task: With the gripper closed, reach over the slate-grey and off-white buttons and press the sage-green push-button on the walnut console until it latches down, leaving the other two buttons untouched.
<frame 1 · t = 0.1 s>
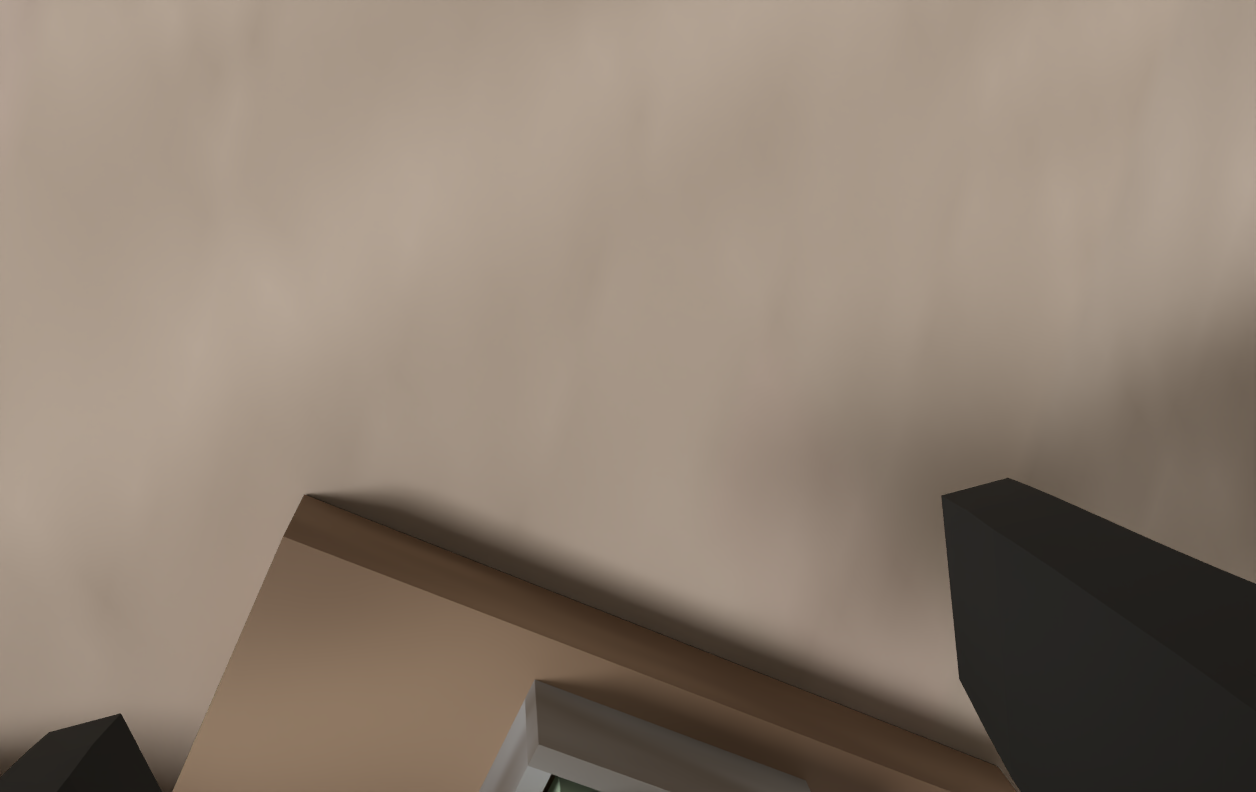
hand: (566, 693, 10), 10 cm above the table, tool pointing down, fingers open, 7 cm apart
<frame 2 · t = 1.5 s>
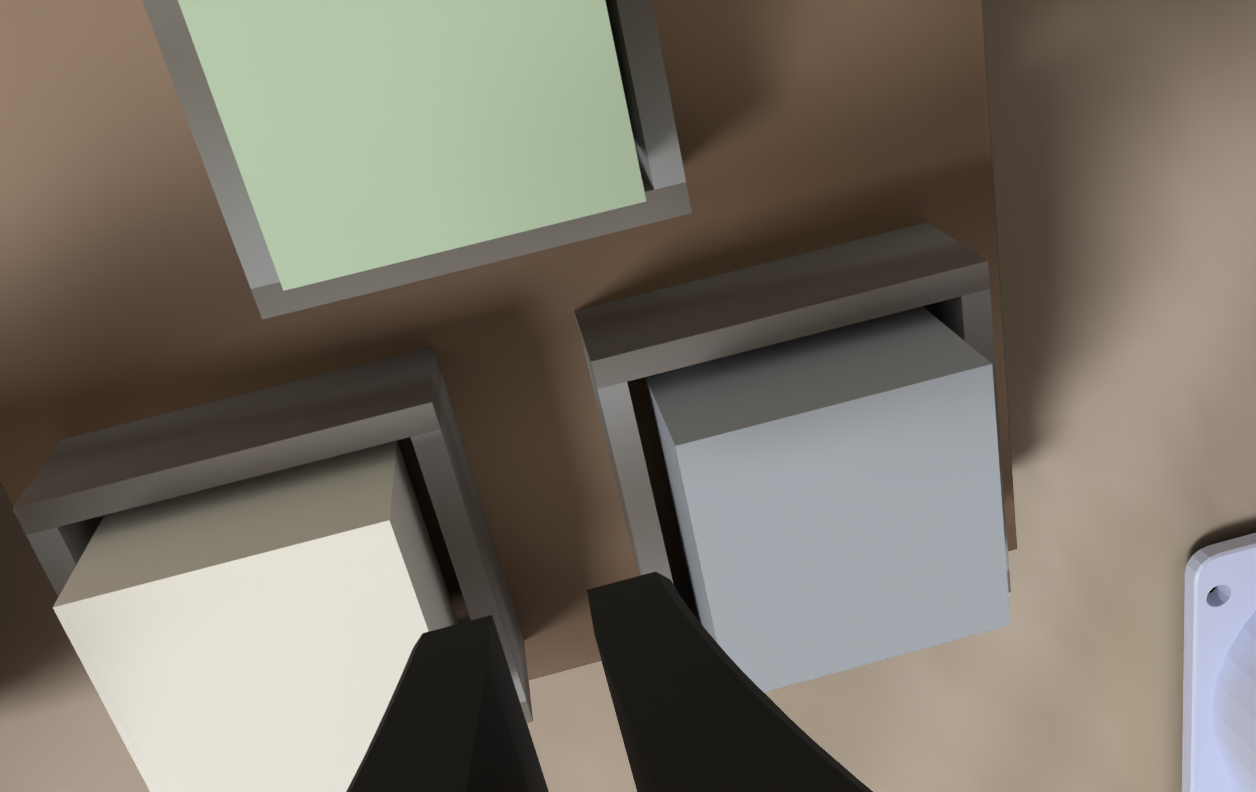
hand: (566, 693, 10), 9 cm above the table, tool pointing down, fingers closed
white button: (290, 641, 15), point 4 cm above the table, slide at 0.0 cm
console: (485, 239, 17), on the table
green button: (415, 45, 12), point 4 cm above the table, slide at 0.0 cm
grey button: (827, 500, 15), point 4 cm above the table, slide at 0.0 cm
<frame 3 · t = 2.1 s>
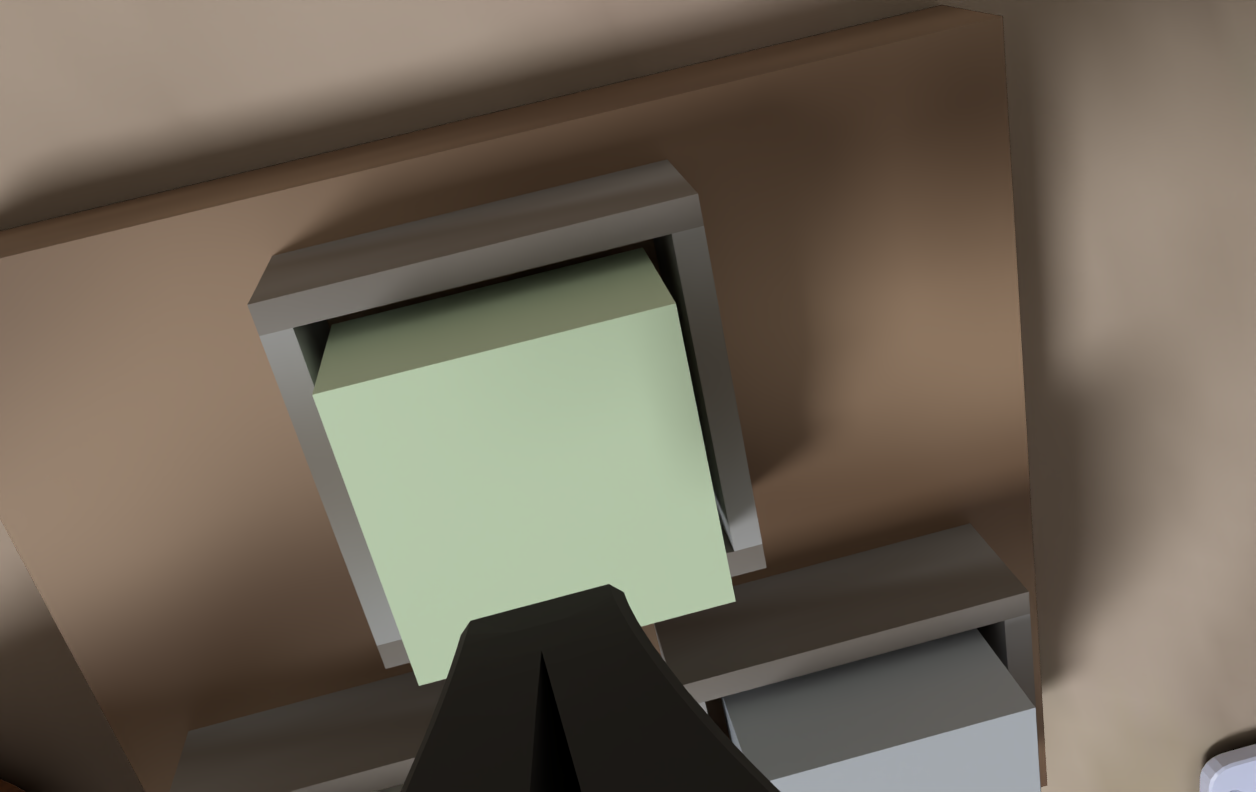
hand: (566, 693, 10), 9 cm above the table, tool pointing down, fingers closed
console: (563, 520, 19), on the table
green button: (532, 462, 14), point 4 cm above the table, slide at 0.0 cm
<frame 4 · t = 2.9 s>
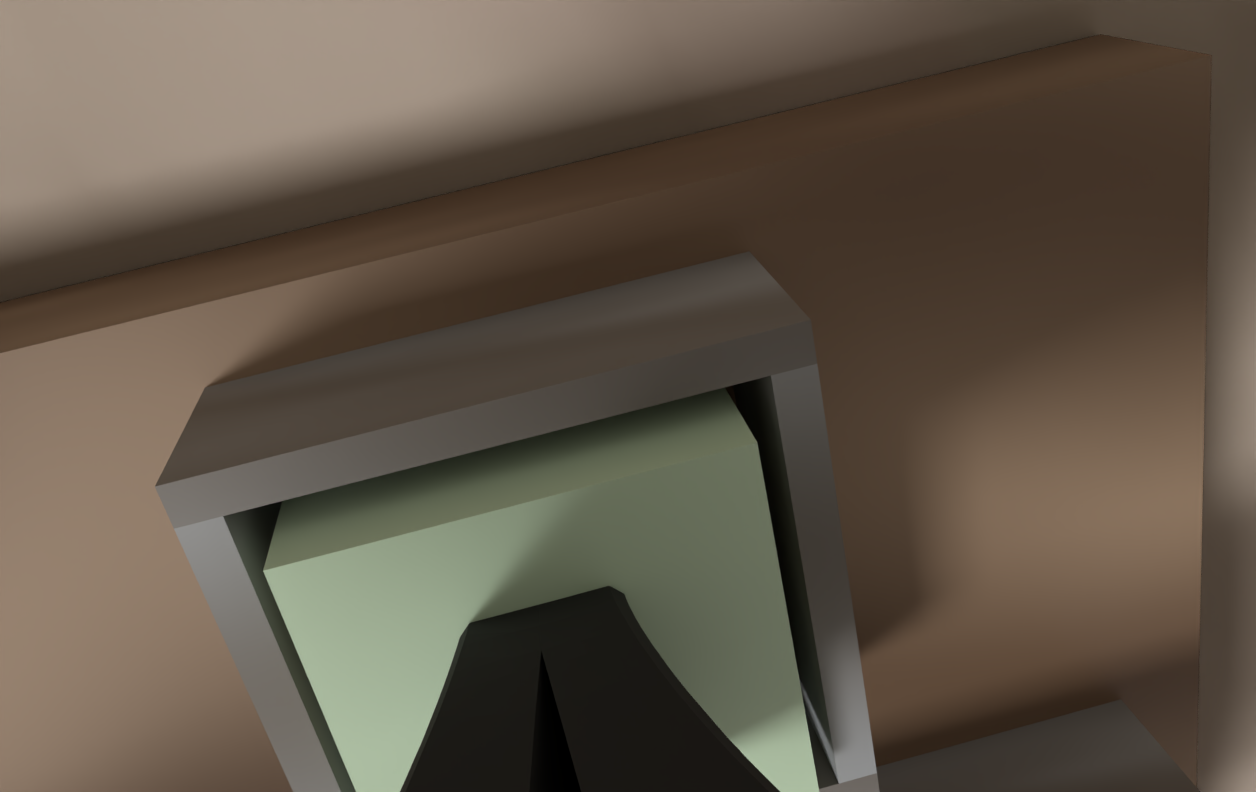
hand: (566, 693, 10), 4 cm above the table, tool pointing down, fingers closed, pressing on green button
console: (594, 683, 15), on the table
green button: (558, 625, 11), point 3 cm above the table, slide at 1.0 cm, touching gripper
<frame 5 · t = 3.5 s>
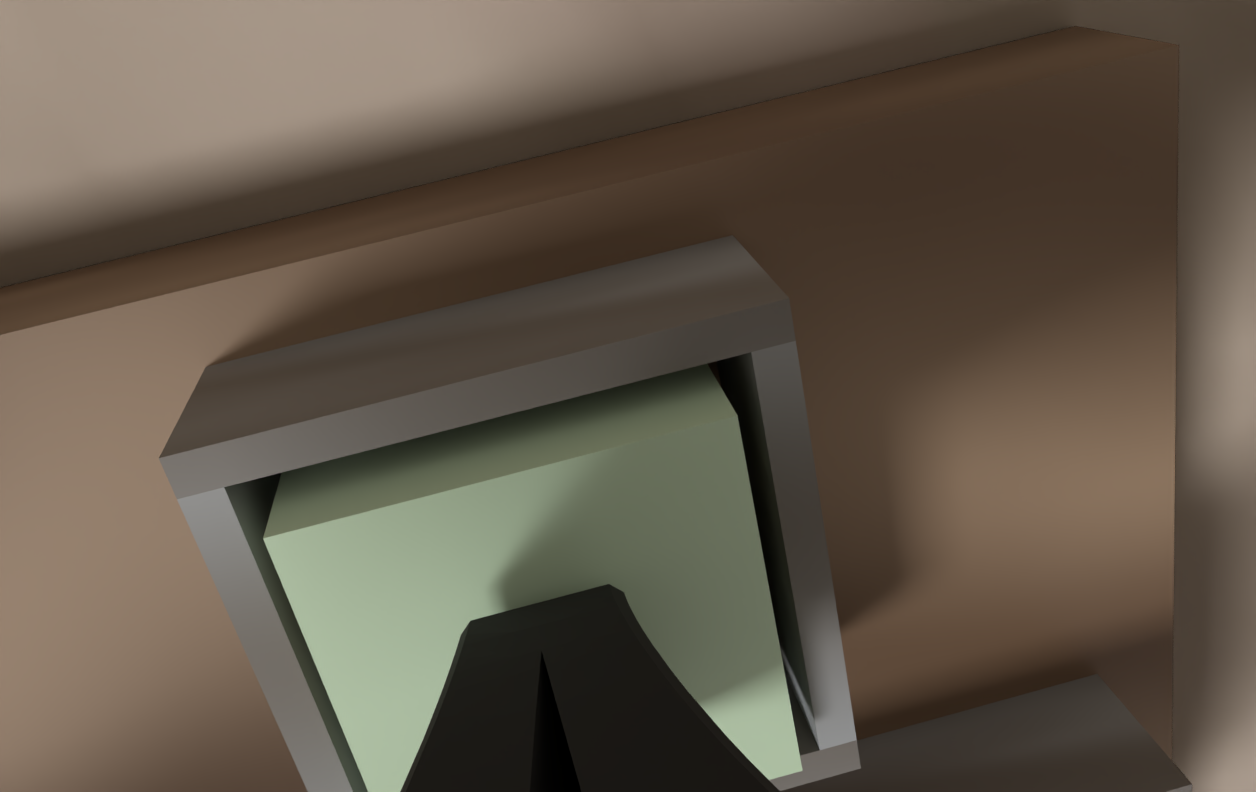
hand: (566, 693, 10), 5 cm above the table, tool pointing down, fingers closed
console: (585, 660, 15), on the table
green button: (548, 596, 11), point 3 cm above the table, slide at 1.0 cm
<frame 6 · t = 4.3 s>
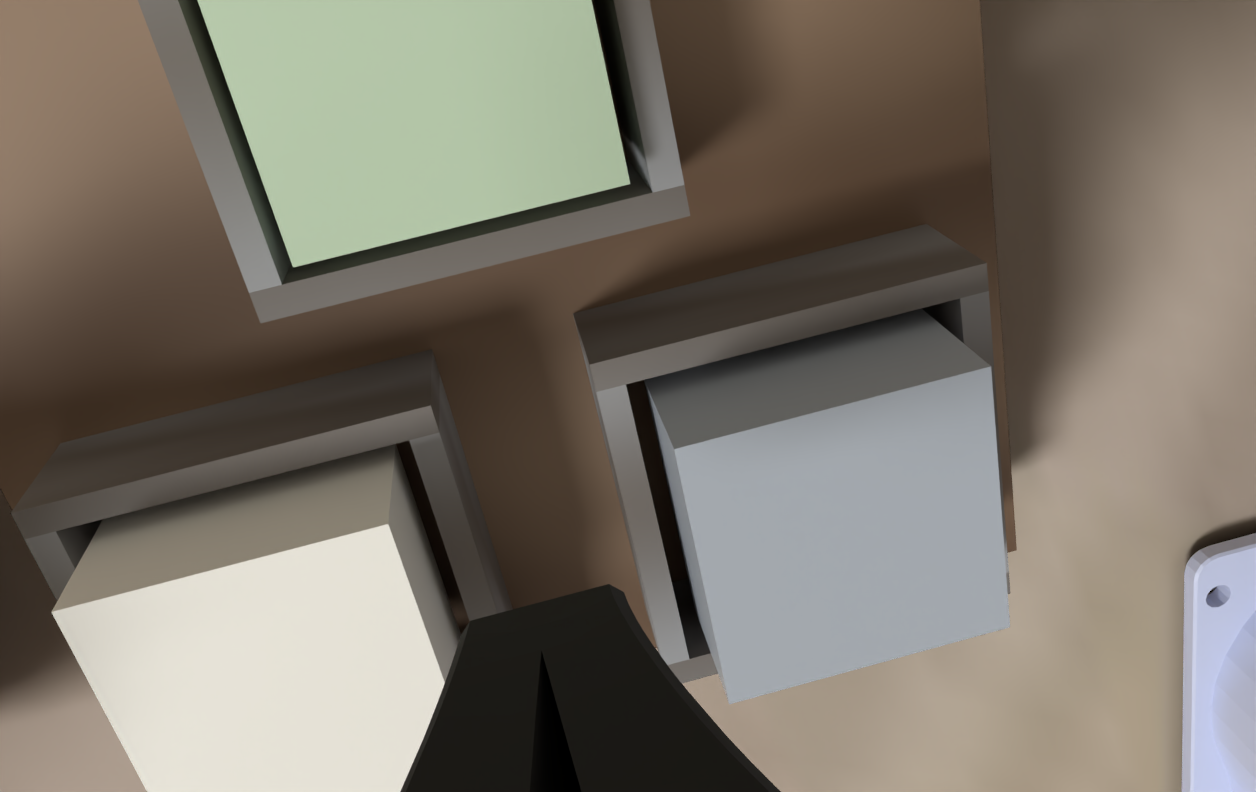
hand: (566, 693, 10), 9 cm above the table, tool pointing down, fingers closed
white button: (290, 645, 15), point 4 cm above the table, slide at 0.0 cm
console: (483, 241, 17), on the table
green button: (415, 38, 13), point 3 cm above the table, slide at 1.0 cm
grey button: (826, 502, 15), point 4 cm above the table, slide at 0.0 cm
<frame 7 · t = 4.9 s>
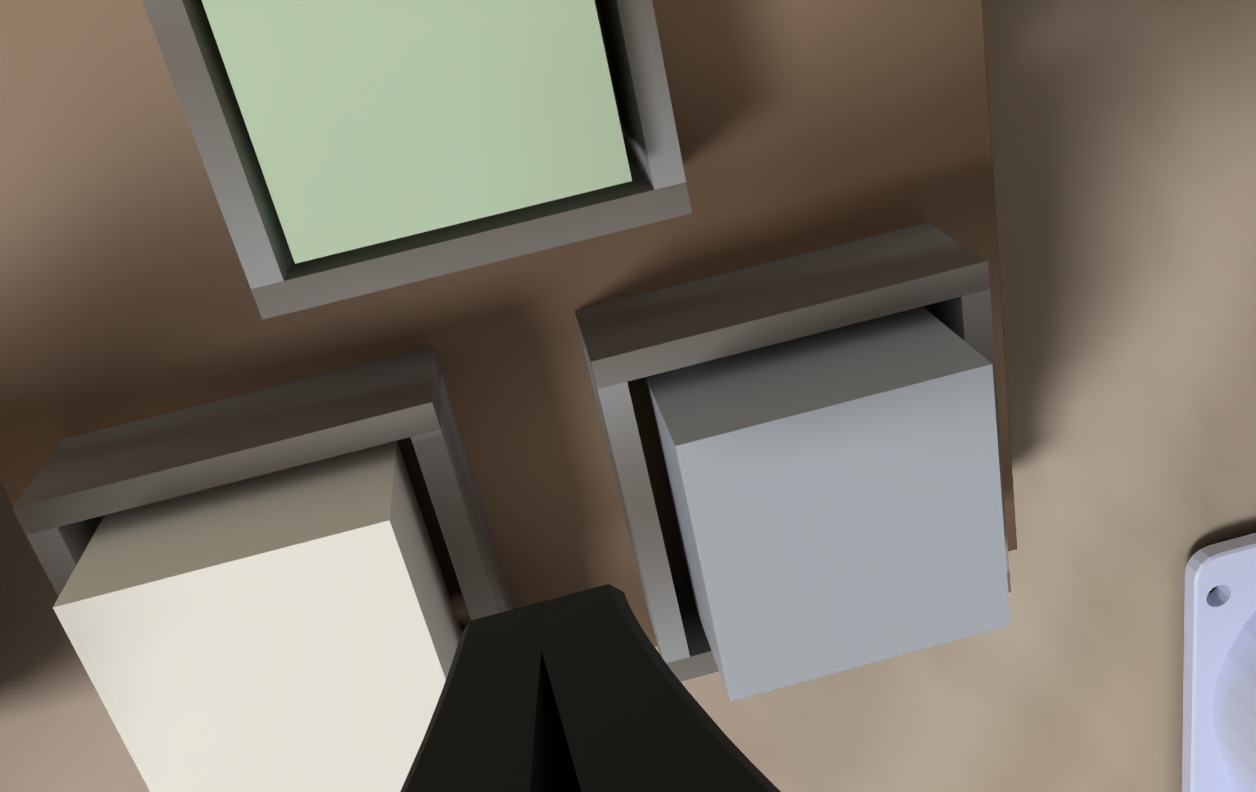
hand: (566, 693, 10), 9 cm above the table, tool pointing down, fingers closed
white button: (291, 641, 15), point 4 cm above the table, slide at 0.0 cm
console: (485, 239, 17), on the table
green button: (417, 35, 13), point 3 cm above the table, slide at 1.0 cm
grey button: (827, 500, 15), point 4 cm above the table, slide at 0.0 cm
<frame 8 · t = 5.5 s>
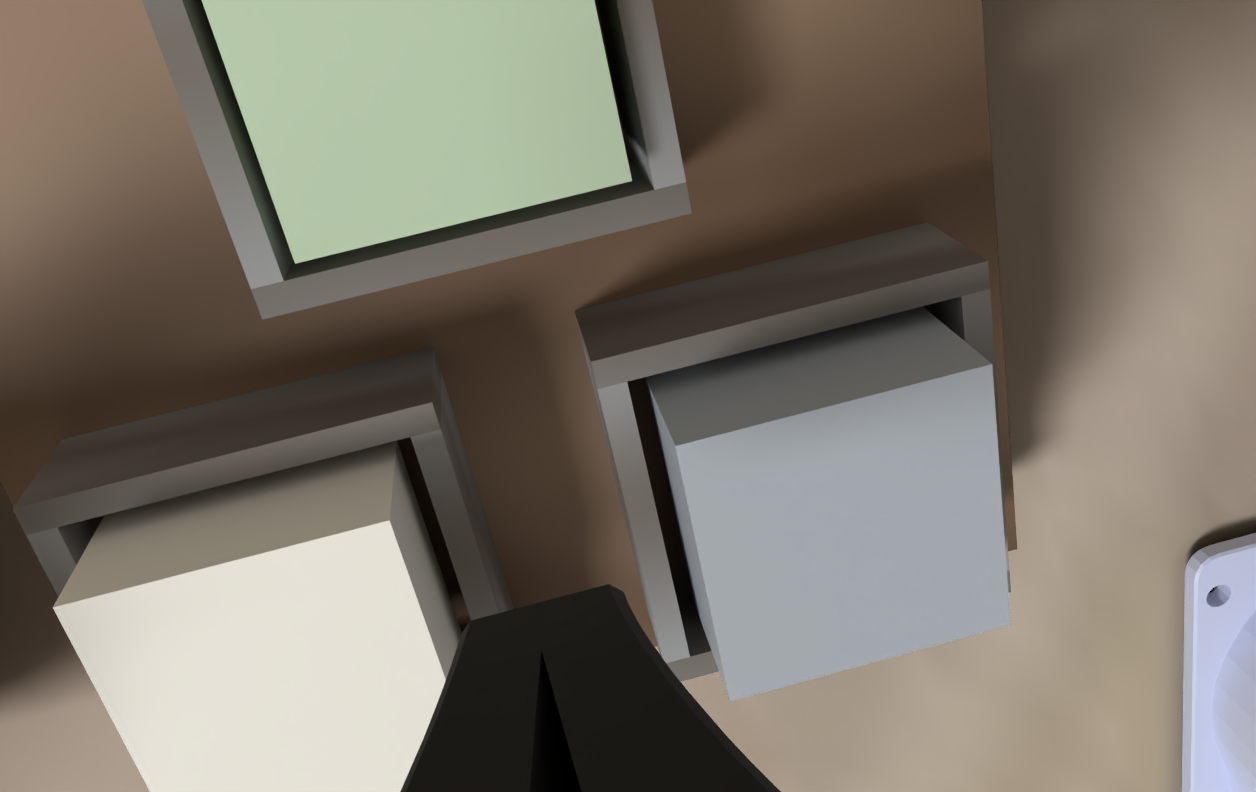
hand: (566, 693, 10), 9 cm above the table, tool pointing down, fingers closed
white button: (291, 641, 15), point 4 cm above the table, slide at 0.0 cm
console: (485, 239, 17), on the table
green button: (417, 35, 13), point 3 cm above the table, slide at 1.0 cm
grey button: (827, 500, 15), point 4 cm above the table, slide at 0.0 cm
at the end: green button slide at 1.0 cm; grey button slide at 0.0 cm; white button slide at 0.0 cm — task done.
